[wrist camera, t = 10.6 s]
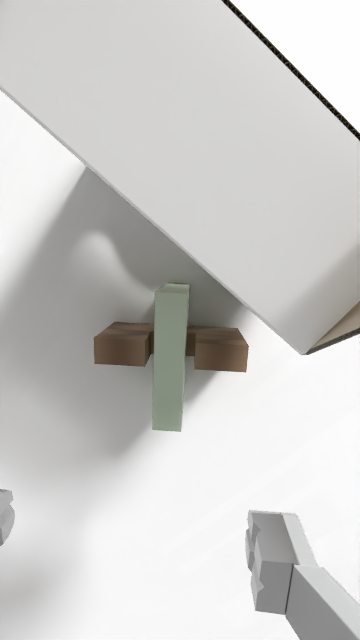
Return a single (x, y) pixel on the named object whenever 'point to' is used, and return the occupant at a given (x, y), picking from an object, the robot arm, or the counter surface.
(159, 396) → the crosspiece
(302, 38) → the gable box
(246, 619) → the counter surface
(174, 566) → the counter surface
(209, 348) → the upright
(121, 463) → the counter surface
